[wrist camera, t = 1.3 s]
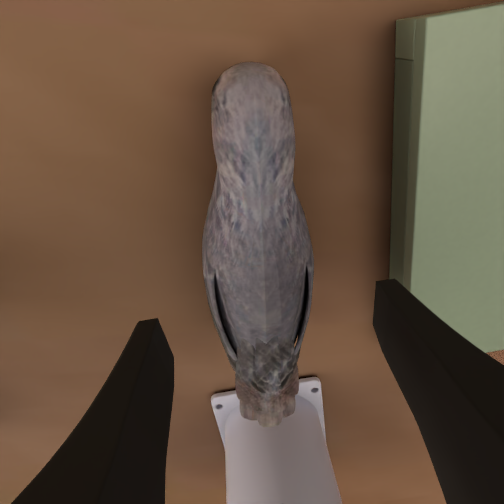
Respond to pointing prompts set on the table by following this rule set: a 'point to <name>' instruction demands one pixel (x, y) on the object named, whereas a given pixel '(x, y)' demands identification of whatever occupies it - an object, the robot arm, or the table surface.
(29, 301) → the table surface
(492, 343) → the shelf
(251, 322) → the bird
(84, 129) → the table surface
